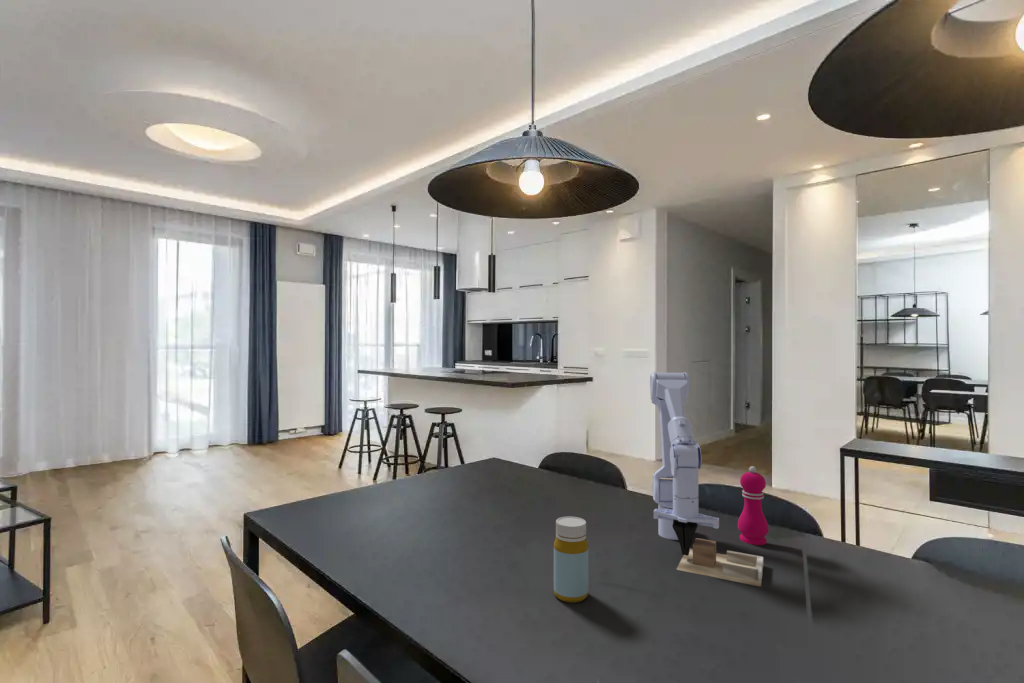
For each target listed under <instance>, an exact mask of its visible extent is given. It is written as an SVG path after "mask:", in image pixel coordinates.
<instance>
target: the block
mask: <svg viewBox="0 0 1024 683" xmlns="http://www.w3.org/2000/svg"><path fill="white" fill-rule="evenodd" d="M692 549H693V564H695V565H700V566H706V567H711V568H714V566H715V563H716V553H717V541H716V540H710V539H705V538H698V537H695V539H694V541H693V542H692Z"/></svg>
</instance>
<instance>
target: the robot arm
mask: <svg viewBox="0 0 1024 683" xmlns="http://www.w3.org/2000/svg"><path fill="white" fill-rule="evenodd" d="M690 381H691V380H690V375H689V374H688V373H687V372H686V371H685V372H684V371H683V372H656V371H652V372H651V374H650V378H649V389H650V390H649V391H650V392H649V393H650V400H651V404H653V405H655V406H657V409H658V413H659V414H658V415H659V425H660V444H661V459H662V460H661V462H662V466H661V467H660V468H658V469H657V470H656V471H655V472H654V473H653V474H652V484H651V485H652V486H651V487H652V488H651V489H652V490H651V491H652V498H653V501H654V502H655V503H656V504H658V505H657V506H658V508H655V509H654V510H653V519H654V520H658V522H657V523H658V530H657V531H658V535H659V537H662V538H664V539H666V540H672V541H673V540H674V541H678V542H679V546H680V552H681V555H682V556H683V555H687V556H688V555H689V552H690V548H691V545H692V543H693V542H692V541H693V538H694V535H695V533H696V531H697V528H698V526H705V527H708V528H709V527H710V528H713V529H716V530H718V529H719V527H720V517H715V516H711V515H706V514H702V513H699V470H701V467H702V462H703V458H702V456H703V455H702V449H701V447H700V444H699V443H698V441H697V440H696V439H695V436H694V435H695V433H694V430H693V425H692V422H691V420H689V419H688V418H686V410H685V408H686V407H685V403H686V400H687V398H688V396H689V392H690V387H691V382H690Z"/></svg>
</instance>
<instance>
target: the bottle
mask: <svg viewBox="0 0 1024 683" xmlns="http://www.w3.org/2000/svg"><path fill="white" fill-rule="evenodd" d="M553 593H554V595H555V597H556V598H557V599H559V600H560V601H562V602H565V603H581V602H582V601H584V600H585V599H586V598H588V595H589V542H588V540H587V521H586V520H585V519H584V518H582V517H577V516H562V517H558V518H556V520H555V540H554V542H553Z"/></svg>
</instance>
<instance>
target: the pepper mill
mask: <svg viewBox="0 0 1024 683" xmlns="http://www.w3.org/2000/svg"><path fill="white" fill-rule="evenodd" d="M739 483H740V487H742V491H741V492H742V495H741V496H742V497H743V498H744V499H743V500H744V504H743V509H742V512H741V513H740V515H739V517H738V521H737V529H738V530H739V532H740V535H739V540H740V541H741V542H742V543H746V544H749V545H752V546H753V545H755V546H763V545H766V544H767V540H768V539H767V538H766V536H767V535H768V534H769V532H770V531H769V530H770V529H769V524H768V521H767V518H766V516H765V515H764V512H763V508H762V507H763V506H762V501H763V499H764V490H765V488H766V485H767V484H766V483H767V482H766V479H765V477H764V476H763V475H762V474H761V473H759V472H757V468H756V466H754V465H751V466H750V467H749V468H748V471H747V472H744V473H743V474H742V475H741V476H740V480H739Z"/></svg>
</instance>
